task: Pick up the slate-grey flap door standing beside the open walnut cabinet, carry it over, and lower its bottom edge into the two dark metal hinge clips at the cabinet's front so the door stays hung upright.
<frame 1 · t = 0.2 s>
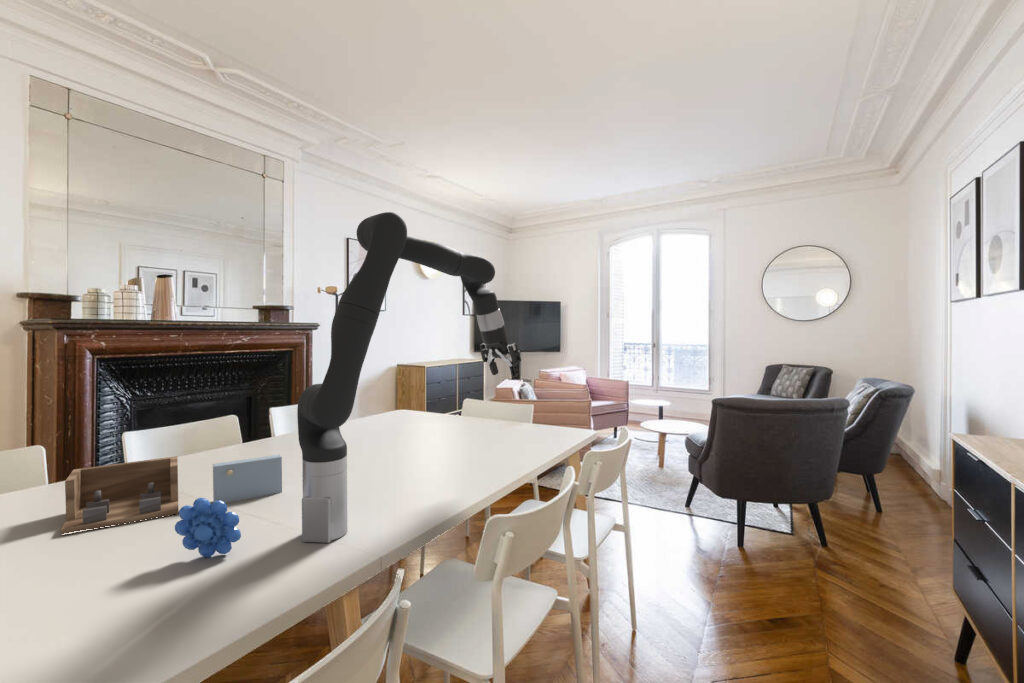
hand: (505, 375, 145), 31 cm above the table, tool tilted 20°, fingers open, 8 cm apart
door: (248, 496, 128), on the table
blue flower: (207, 559, 94), on the table
cabinet: (125, 513, 116), on the table
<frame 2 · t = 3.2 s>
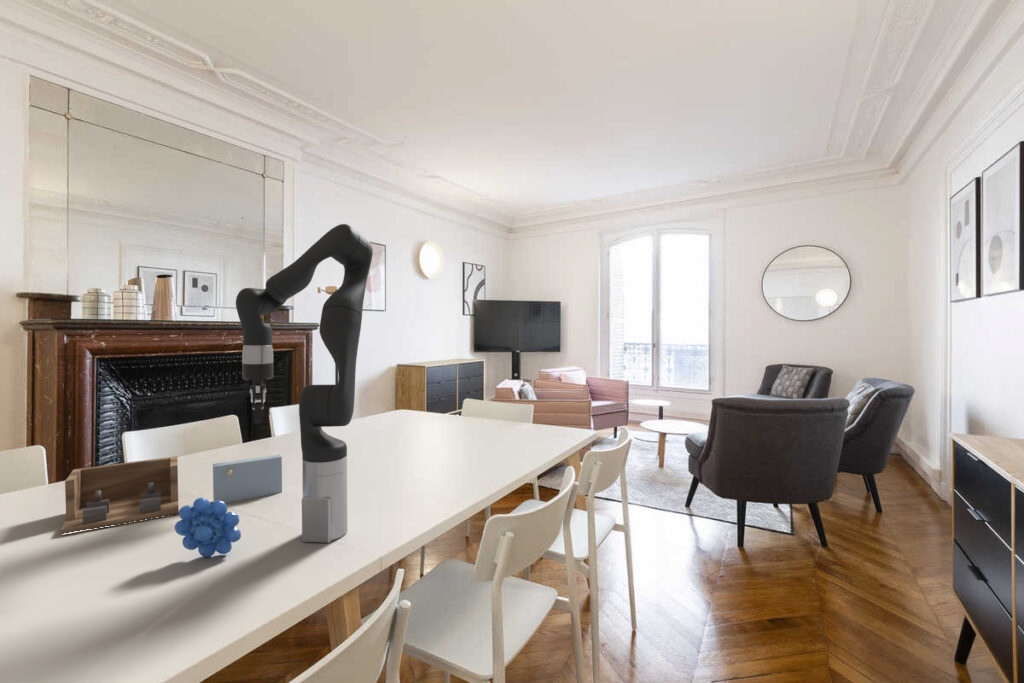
hand: (258, 420, 130), 20 cm above the table, tool pointing down, fingers open, 8 cm apart
nothing on the table moved.
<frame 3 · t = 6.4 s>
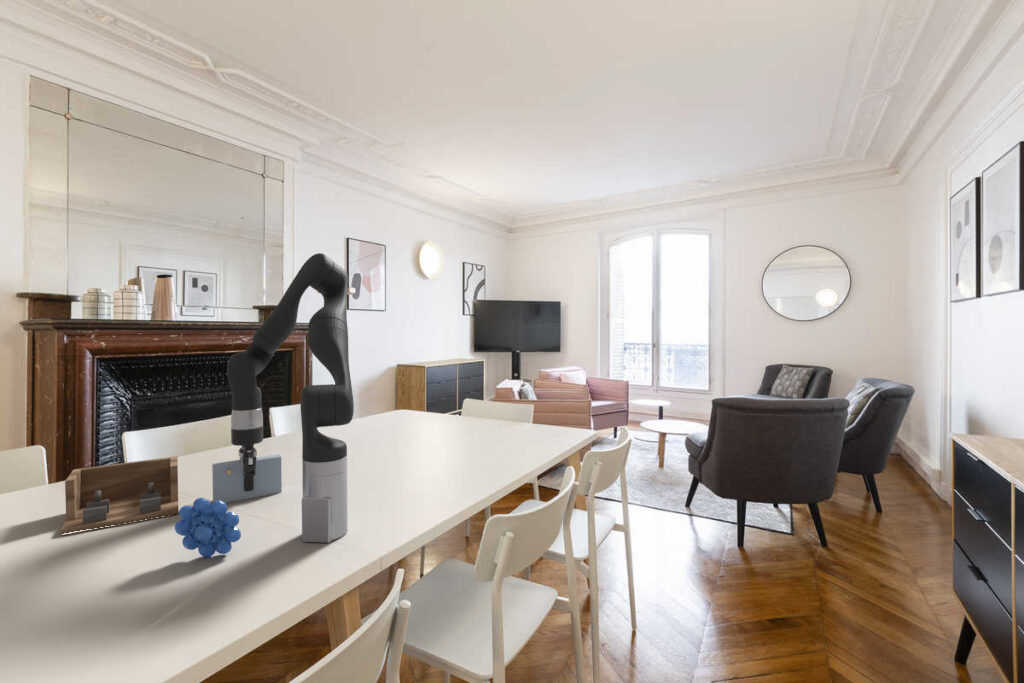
hand: (248, 488, 128), 2 cm above the table, tool pointing down, fingers closed on door, 3 cm apart
door: (248, 496, 128), on the table, touching gripper
everything else where it was.
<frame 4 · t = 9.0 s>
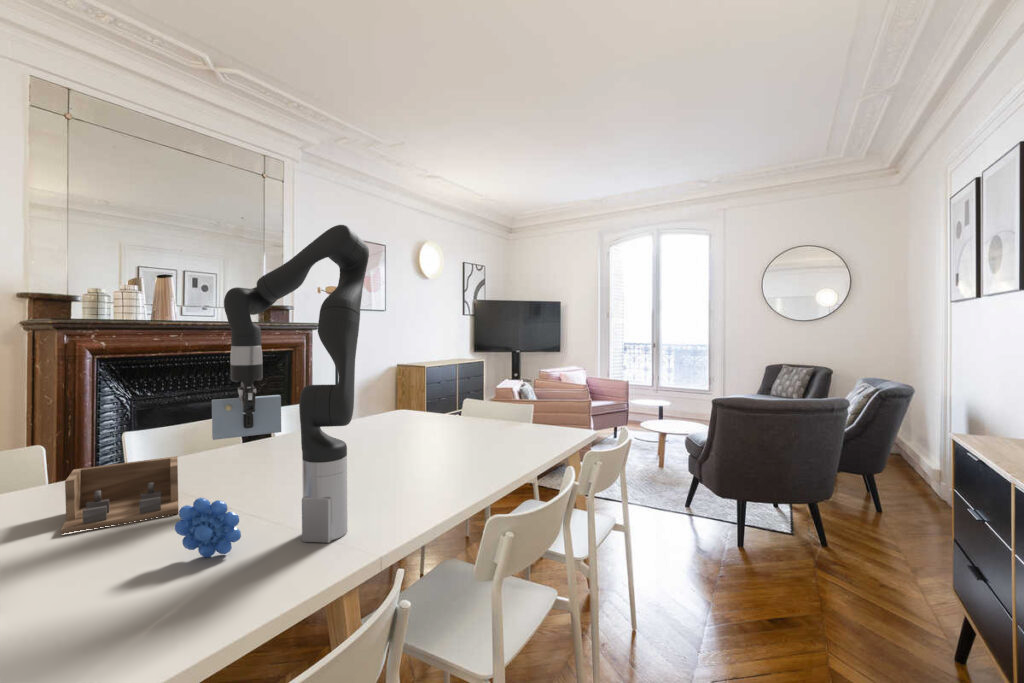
hand: (247, 426, 127), 19 cm above the table, tool pointing down, fingers closed on door, 3 cm apart
door: (247, 434, 127), point 17 cm above the table, touching gripper
everything else where it was.
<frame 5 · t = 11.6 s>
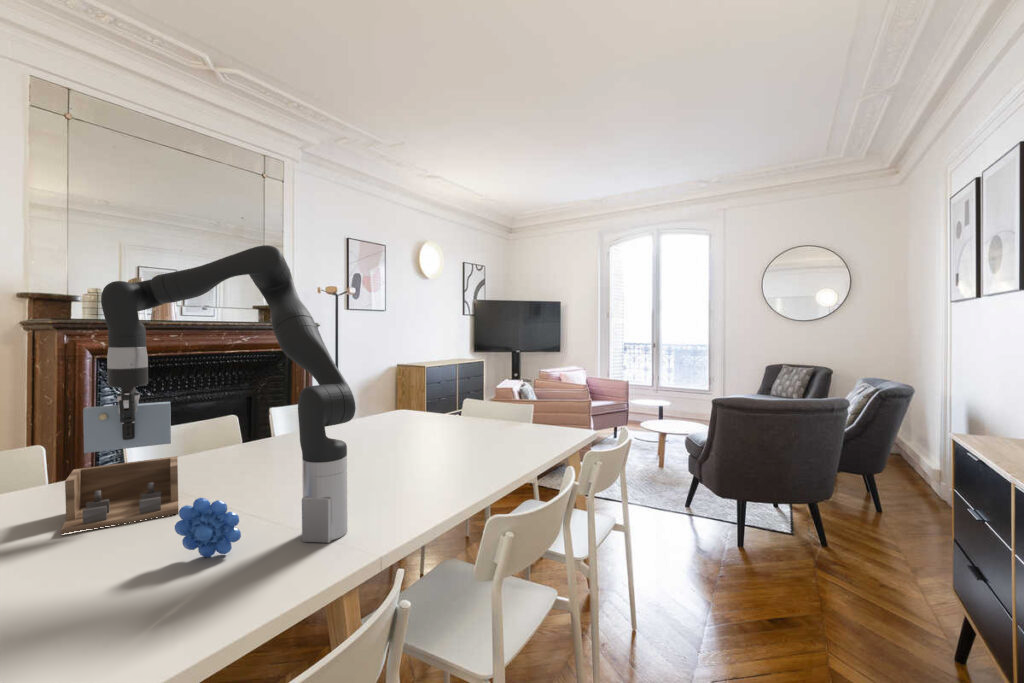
hand: (129, 437, 113), 19 cm above the table, tool pointing down, fingers closed on door, 3 cm apart
door: (129, 446, 113), point 17 cm above the table, touching gripper
everything else where it was.
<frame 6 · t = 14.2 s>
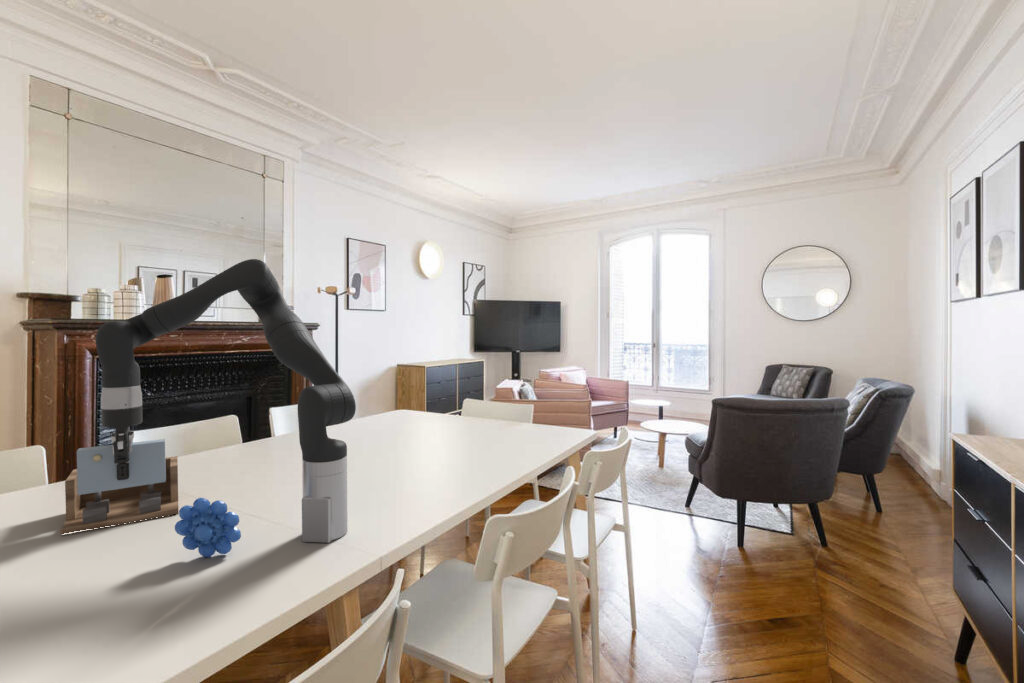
hand: (123, 477, 113), 10 cm above the table, tool pointing down, fingers closed on door, 3 cm apart
door: (124, 486, 113), point 8 cm above the table, touching gripper
everything else where it was.
when the fingers open (5 cm above the table, at t = 16.6 s): door drops 1 cm, resting on cabinet.
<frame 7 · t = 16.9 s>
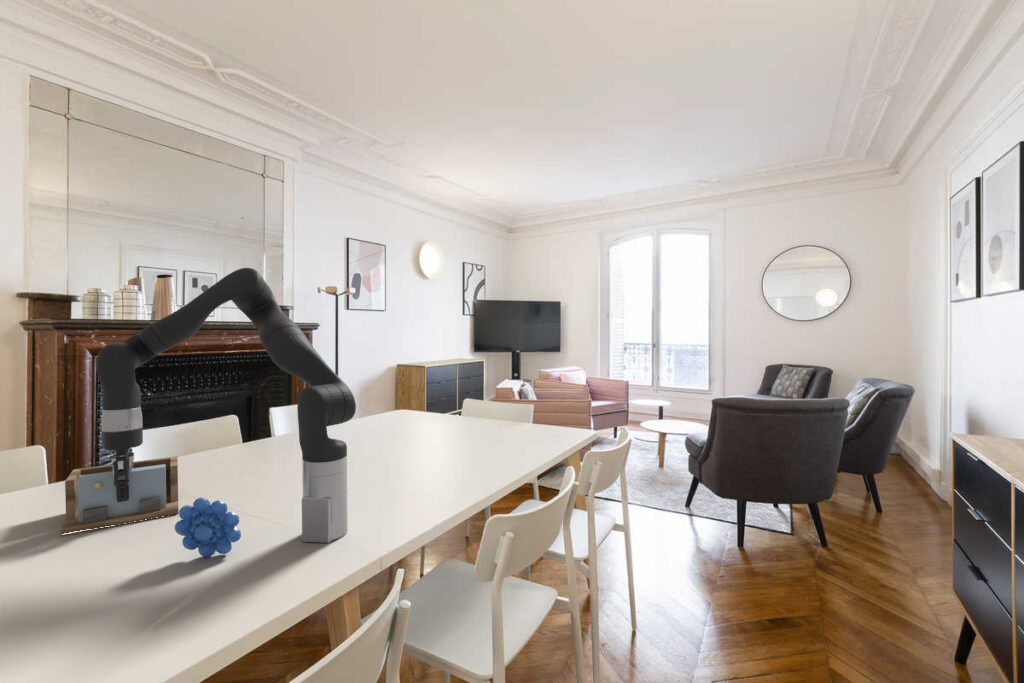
hand: (124, 496, 113), 5 cm above the table, tool pointing down, fingers open, 5 cm apart
door: (124, 512, 113), point 1 cm above the table, touching cabinet
everything else where it was.
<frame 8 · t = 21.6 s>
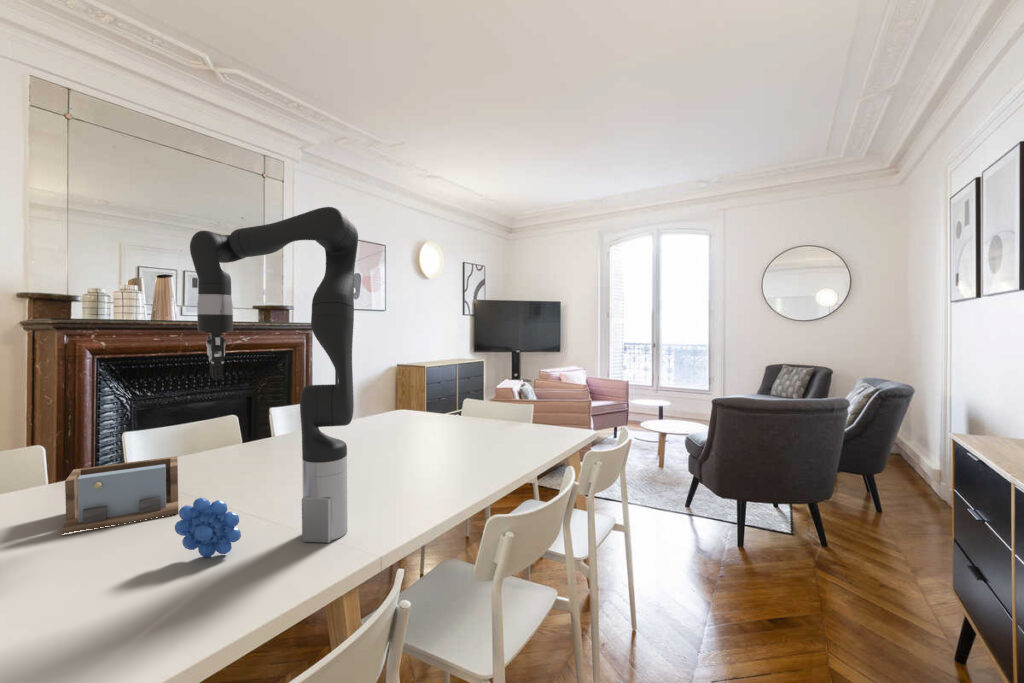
hand: (216, 377, 119), 33 cm above the table, tool pointing down, fingers open, 8 cm apart
nothing on the table moved.
at the end: door inside the target area on the cabinet (0.1 cm from its centre), point 1.5 cm above the cabinet's base; door tilted 0°; the gripper is holding nothing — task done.
